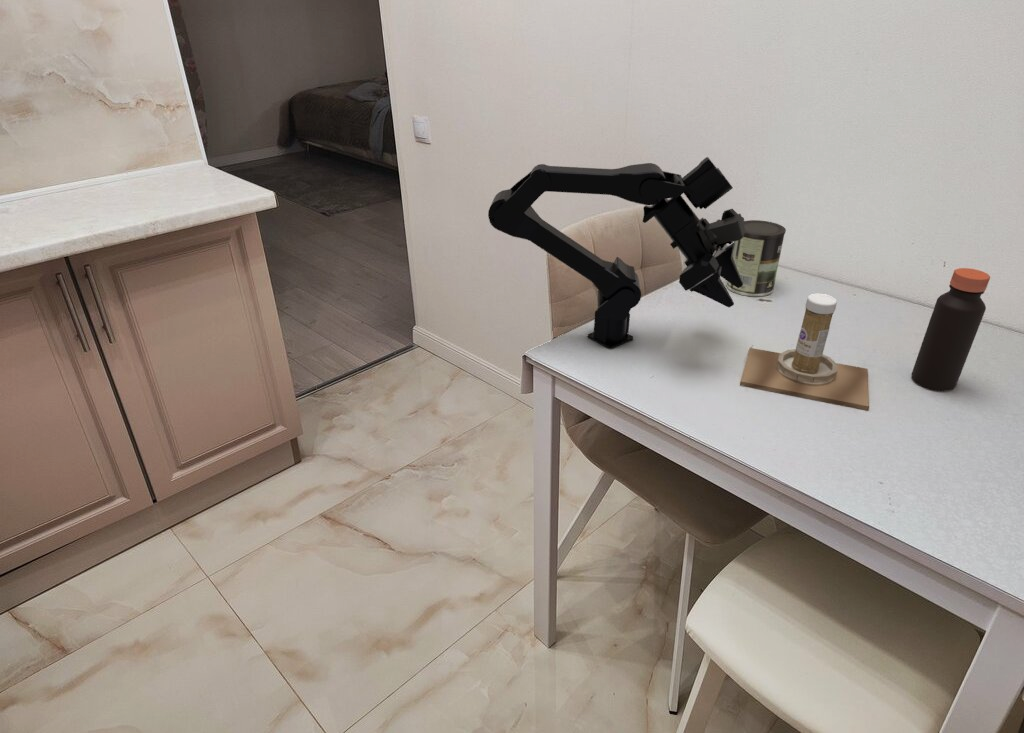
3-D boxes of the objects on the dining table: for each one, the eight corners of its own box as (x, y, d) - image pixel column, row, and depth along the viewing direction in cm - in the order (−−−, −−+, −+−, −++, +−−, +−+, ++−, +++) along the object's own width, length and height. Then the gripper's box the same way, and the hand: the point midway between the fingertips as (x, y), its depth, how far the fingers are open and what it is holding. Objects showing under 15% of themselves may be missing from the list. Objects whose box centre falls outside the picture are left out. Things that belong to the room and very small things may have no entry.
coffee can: (770, 280, 153) (782, 220, 146) (776, 298, 145) (789, 236, 138) (724, 277, 155) (733, 218, 148) (727, 295, 147) (737, 233, 139)
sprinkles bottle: (785, 365, 117) (801, 295, 111) (804, 359, 119) (821, 290, 112) (805, 377, 114) (823, 305, 107) (825, 371, 115) (843, 300, 109)
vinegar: (903, 380, 115) (939, 272, 105) (921, 367, 119) (958, 262, 109) (944, 396, 110) (986, 285, 100) (962, 383, 114) (1005, 274, 104)
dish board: (739, 385, 114) (742, 372, 113) (748, 351, 124) (751, 339, 123) (868, 410, 107) (872, 397, 106) (866, 372, 117) (870, 360, 116)
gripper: (709, 213, 104) (769, 291, 105) (731, 184, 118) (783, 253, 120) (654, 253, 111) (711, 325, 112) (681, 221, 125) (731, 286, 127)
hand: (736, 295), depth 118 cm, fingers open, 9 cm apart
